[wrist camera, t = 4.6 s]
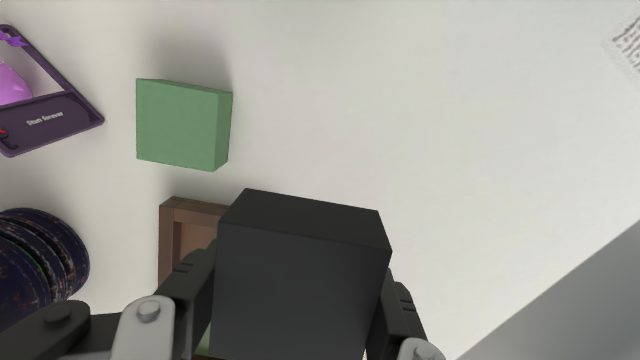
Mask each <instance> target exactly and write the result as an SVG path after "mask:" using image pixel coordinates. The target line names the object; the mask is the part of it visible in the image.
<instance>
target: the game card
mask: <svg viewBox="0 0 640 360" xmlns="http://www.w3.org/2000/svg"><path fill="white" fill-rule="evenodd" d="M4 33H8V34H9V35H10V36H11V38H9V37H8V36H7V35H6V34H4ZM0 40H6V42H8V43H9V44H10V45H11V46H21V47H22V48H23V49H24V50H25V51H26V52H27V53H28V54H29V55H30V56H31V57H32V58H33V59H34V60H35V61H36V62H37V63H38V64H39V65H40V66H41V67H42V68H43V69H44V70H45V71H46V72H47V73H48V74H49V75H50V76H51V77H52V78H53V79H54V80H55V81H56V82H57V83H58V84H59V85H60V86H61V87H62V88H63V89H64V90H65V91H61V92H56V93H52V94H48V95H43V96H39V97H35V98H33V95H32V93H31V91H30V89H29V87H28V86H27V84H26V83H25V81H24V80H23V79H22V78H21V77H20V76H19V75H18V74H17V73H16V72H15V71H14V70H12V69H11V68H10V67H8V66H7V65H6V64H5V62H4V61H2V62H0V152H1V153H2V154H3V155H4V156H6V157H8V158H12V157H15V156H18V155H20V154H23V153H26V152H28V151H31V150H34V149H37V148H39V147H42V146H45V145H48V144H50V143H53V142H56V141H59V140H61V139H64V138H67V137H69V136H72V135H75V134H78V133H80V132H83V131H86V130H89V129H91V128H94V127H97V126H100V125H102V124H103V122H104V119H103V118H102V117H101V116H100V115H99V114H98V113H97V112H96V111H95V110H94V109H93V108H92V107H91V106H90V105H89V104H88V103H87V102H86V101H85V100H84V99H83V98H82V97H81V95H80V94H79V93H78V92H77V91H76V90H75V89H74V88H73V87H72V86H71V85H70V84H69V83H68V82H67V81H66V80H65V79H64V78H63V77H62V76H61V75H60V74H59V73H58V72H57V71H56V70H55V69H54V68H53V67H52V66H51V65H50V64H49V63H48V62H47V61H46V60H45V59H44V58H43V57H42V56H41V55H40V54H39V53H38V52H37V51H36V50H35V49H34V48H33V47H32V46H31V45H30V44H29V43H28V42H27V41H26V40H25V39H24V38H23V37H22V36H21V35H20V34H19V33H18V32H17V31H16V30H15V29H14V28H13V27H12V26H10V25H8V24H0Z"/></svg>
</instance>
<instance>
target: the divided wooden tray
mask: <svg viewBox="0 0 640 360" xmlns="http://www.w3.org/2000/svg"><path fill="white" fill-rule="evenodd" d="M229 207H230V206H225V205H219V204H213V203H207V202H201V201H196V200H190V199H184V198H178V197H173V196H172V197H170V198H169V199H168V200H166V201H165V202H163V203H162V204H161V205H159V252H158V288H159V287H160V285H161V284H162V283H163V282H164V281H165V279H166V278H167V277H168V276H169V275H170V274H171V272H172V271H174V269H175V268H176V266H177V265H178V264H180V262H181V261H182V259H183V258H184V257H185V256H186V255H187V254H188V253H190V252H192V251H194V250H195V249H197V248H202V249H206V248H207V247H208V245H209V244H210V243H211V241H212V240H213V239H214V238H217V226H218V221H219V219H220V218H221V217H222V216H223V215H224V213H225V212H226V211H227V210H228V208H229ZM210 324H211V321H210V323H209V325H208V327H207V329H206V331H205V333H204V335H203V337H202V339H201V341H200V343H199V345H198V347H197V349H196V351H195V353H194V355H193V357H192V359H191V360H230V359H224V358H218V357H212V356H209V355H208V352H209V338H210ZM179 360H189V359H183V358H180V359H179Z"/></svg>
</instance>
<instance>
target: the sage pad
mask: <svg viewBox="0 0 640 360" xmlns="http://www.w3.org/2000/svg"><path fill="white" fill-rule="evenodd" d="M232 101H233V93H232V92H227V91H221V90H216V89H210V88H205V87H200V86H194V85H189V84H183V83H178V82H172V81H167V80H162V79H138V78H137V79H136V150H137V159H141V160H146V161H152V162H158V163H163V164H169V165H175V166H180V167H186V168H192V169H198V170H203V171H209V172H214V171H216V170H217V169H218V168H220V167H221V166H222V165H224V164H225V163H226V162H227V159H228V147H229V136H230V124H231V112H232Z"/></svg>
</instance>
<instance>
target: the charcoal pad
mask: <svg viewBox="0 0 640 360" xmlns="http://www.w3.org/2000/svg"><path fill="white" fill-rule="evenodd" d="M392 252H393V251H392V248H391V245H390V243H389V240H388V237H387V235H386V232H385V229H384V226H383V224H382V221H381V218H380V216H379V213H378V211H377V210H371V209H365V208H359V207H354V206H348V205H342V204H336V203H330V202H325V201H319V200H313V199H307V198H302V197H296V196H290V195H284V194H278V193H273V192H267V191H261V190H255V189H250V188H245V189H244V190H243V192H242V193H241V194H240V195H239V196H238V198H237V199H236V200H235V201H234V202H233V204H232V205H231V206H230V207H229V208H228V210H227V211H226V212H225V213H224V215H223V216H222V217H221V218H220V219H219V221H218V226H217V240H216V254H215V274H214V288H213V302H212V315H211V324H210V338H209V352H208V355H209V356H212V357H218V358H224V359H230V360H362V358H363V355H364V351H365V348H366V347H365V345H366V341H367V338H368V334H369V331H370V327H371V323H372V320H373V316H374V313H375V309H376V306H377V302H378V299H379V295H380V294H381V291H382V287H383V284H384V280H385V276H386V273H387V269H388V266H389V262H390V259H391V255H392Z"/></svg>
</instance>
